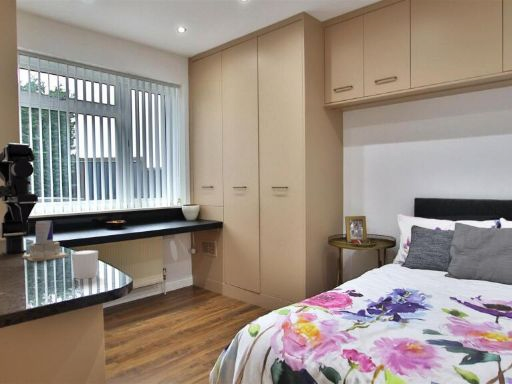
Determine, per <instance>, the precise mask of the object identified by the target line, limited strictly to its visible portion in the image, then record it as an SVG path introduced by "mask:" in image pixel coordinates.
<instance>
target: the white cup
mask: <svg viewBox="0 0 512 384" xmlns="http://www.w3.org/2000/svg"><path fill="white" fill-rule="evenodd" d="M98 257H99V251H98V250H95V249H87V250H86V249H85V250H77V251H73V252H71V262H72V268H73V269H72V270H73V277H74V279H77V280H85V279H91V278H94V277H96V276H97V274H98V273H97V272H98V261H99V258H98Z"/></svg>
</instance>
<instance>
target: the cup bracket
mask: <svg viewBox="0 0 512 384" xmlns="http://www.w3.org/2000/svg"><path fill="white" fill-rule="evenodd" d="M60 244H61V243H60V242H59V241H53V244H49V245H36V242H33V243H30V244H29V253H28V254H22V258H23V259H25V260H28V261H30V262H33V263H36V262H43V261H48V260H54V259H60V258H67V257H68V256H69V255H68V253H65V252H62V251H60V250H61V249H60Z"/></svg>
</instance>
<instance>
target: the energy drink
mask: <svg viewBox="0 0 512 384" xmlns="http://www.w3.org/2000/svg"><path fill="white" fill-rule="evenodd" d="M35 222H36V223H35V225H34V226H35V243H36V245H49V244H53V242H54V223H53V220H38V221H35Z"/></svg>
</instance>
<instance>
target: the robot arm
mask: <svg viewBox="0 0 512 384" xmlns="http://www.w3.org/2000/svg"><path fill="white" fill-rule="evenodd" d="M32 148H33V147H31V146H30V144H28V143H21V142H19V143H18V142H17V143H15V142H8V143H7V144H6V145H5V146H4V147H2V152H1V153H0V179H1V180H2V181H3V185H0V199H1V202H3V204H4V205H5V206H6V207H5V208H6V212H5V214H4V215H3V219H2V221H1V222H0V238H1V239H5V242H4V243H5V245H4V246H5V248H4V249H5V250H2V253H3V254H6V255H11V254H19V253H27V250H26V249H24V237H28V236H29V235H30V223H29V221H28V219H29V217H30V216H31V213H32V211H33V210H34V207H35V206H36V205H37V202H39V196H38V195H37V194H36V193H31V192H30V191H29V185H30V184H31V181H30V179H29V177H30V176H32V174H33V173H34V170H35V169H34V166H33V164H32V163H34V161H35V153H34V150H33V149H32Z"/></svg>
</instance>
